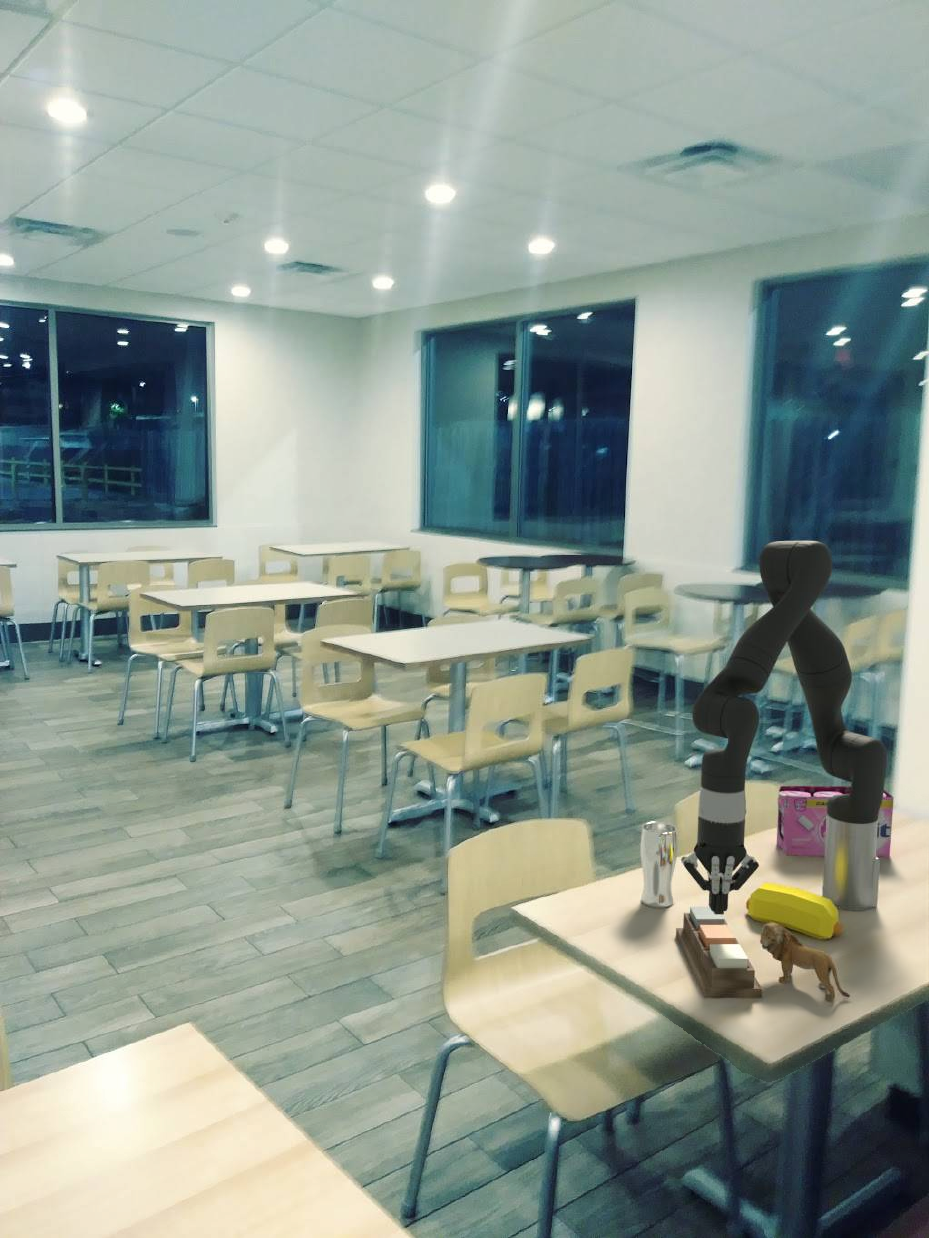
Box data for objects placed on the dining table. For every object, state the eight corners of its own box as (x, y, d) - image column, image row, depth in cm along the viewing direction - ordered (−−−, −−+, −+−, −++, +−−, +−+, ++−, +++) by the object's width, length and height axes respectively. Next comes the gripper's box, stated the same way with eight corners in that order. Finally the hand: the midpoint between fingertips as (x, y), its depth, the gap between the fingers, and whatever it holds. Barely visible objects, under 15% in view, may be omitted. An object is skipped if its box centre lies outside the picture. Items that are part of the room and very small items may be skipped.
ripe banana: (753, 905, 187) (737, 919, 181) (755, 872, 186) (738, 885, 180) (849, 932, 176) (834, 947, 170) (851, 897, 175) (836, 911, 169)
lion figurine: (753, 977, 160) (755, 925, 158) (765, 964, 164) (767, 914, 163) (844, 1006, 151) (847, 952, 149) (855, 992, 155) (858, 939, 153)
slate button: (716, 921, 173) (717, 906, 172) (723, 934, 168) (724, 918, 167) (689, 921, 173) (690, 906, 172) (696, 934, 168) (696, 918, 167)
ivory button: (738, 960, 159) (739, 944, 158) (747, 975, 154) (747, 958, 154) (709, 960, 159) (710, 944, 158) (717, 975, 154) (717, 958, 154)
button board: (726, 935, 174) (726, 912, 173) (761, 997, 153) (762, 970, 153) (676, 935, 174) (676, 912, 173) (704, 997, 153) (705, 970, 153)
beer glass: (673, 894, 192) (675, 821, 189) (677, 909, 185) (679, 834, 183) (637, 893, 192) (639, 820, 190) (640, 908, 185) (642, 833, 183)
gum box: (780, 856, 211) (783, 796, 209) (769, 843, 219) (772, 785, 217) (891, 857, 211) (894, 796, 209) (876, 843, 219) (879, 785, 217)
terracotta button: (727, 940, 166) (727, 924, 165) (734, 953, 161) (735, 937, 160) (699, 940, 166) (699, 924, 165) (706, 953, 161) (706, 937, 160)
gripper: (755, 805, 164) (750, 903, 166) (676, 805, 164) (673, 902, 166) (768, 821, 156) (764, 922, 159) (686, 821, 156) (683, 922, 159)
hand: (717, 912), depth 162 cm, fingers closed
